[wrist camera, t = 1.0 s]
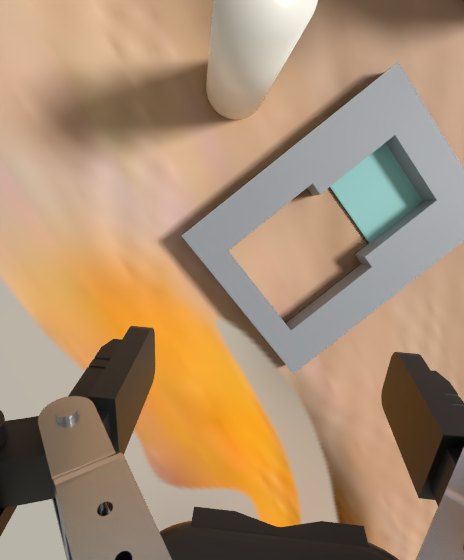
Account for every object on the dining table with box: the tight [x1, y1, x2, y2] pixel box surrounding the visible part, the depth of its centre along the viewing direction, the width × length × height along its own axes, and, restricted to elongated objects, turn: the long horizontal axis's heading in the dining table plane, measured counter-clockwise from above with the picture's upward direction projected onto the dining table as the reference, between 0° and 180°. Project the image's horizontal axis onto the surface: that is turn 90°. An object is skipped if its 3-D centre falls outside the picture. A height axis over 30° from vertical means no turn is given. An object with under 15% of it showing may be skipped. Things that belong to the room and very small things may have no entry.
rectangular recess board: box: [182, 62, 464, 374], centre depth 30 cm, size 20×14×2 cm
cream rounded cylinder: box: [206, 0, 318, 120], centre depth 22 cm, size 4×4×13 cm
